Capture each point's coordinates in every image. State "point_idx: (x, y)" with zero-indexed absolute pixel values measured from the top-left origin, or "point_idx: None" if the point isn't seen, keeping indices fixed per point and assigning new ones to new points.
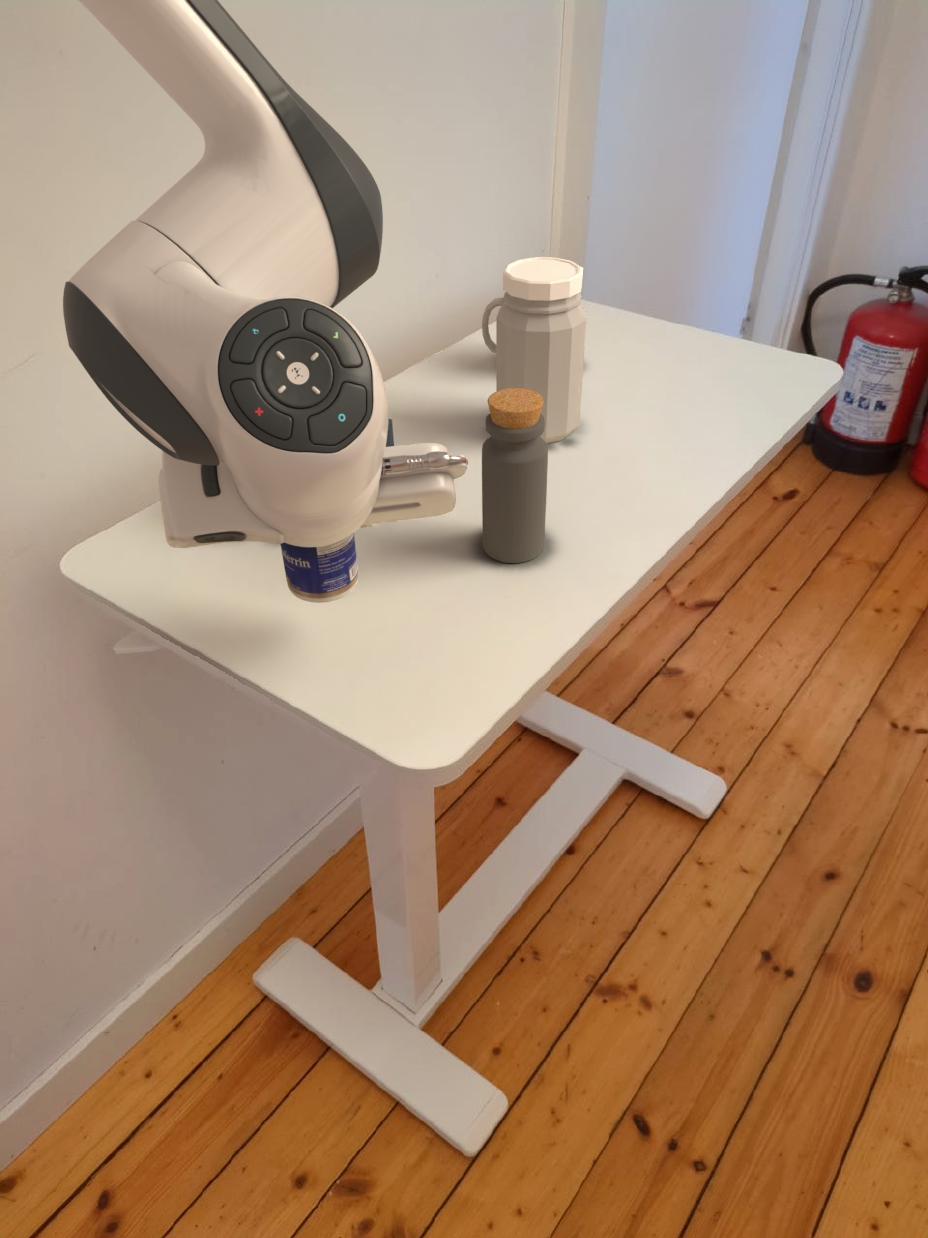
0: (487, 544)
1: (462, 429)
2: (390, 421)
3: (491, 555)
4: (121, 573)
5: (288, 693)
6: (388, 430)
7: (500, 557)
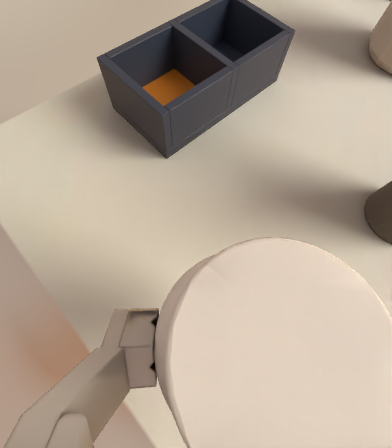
0: (379, 221)
1: (333, 47)
2: (293, 33)
3: (376, 231)
4: (9, 179)
5: (154, 434)
6: (287, 43)
7: (388, 238)
